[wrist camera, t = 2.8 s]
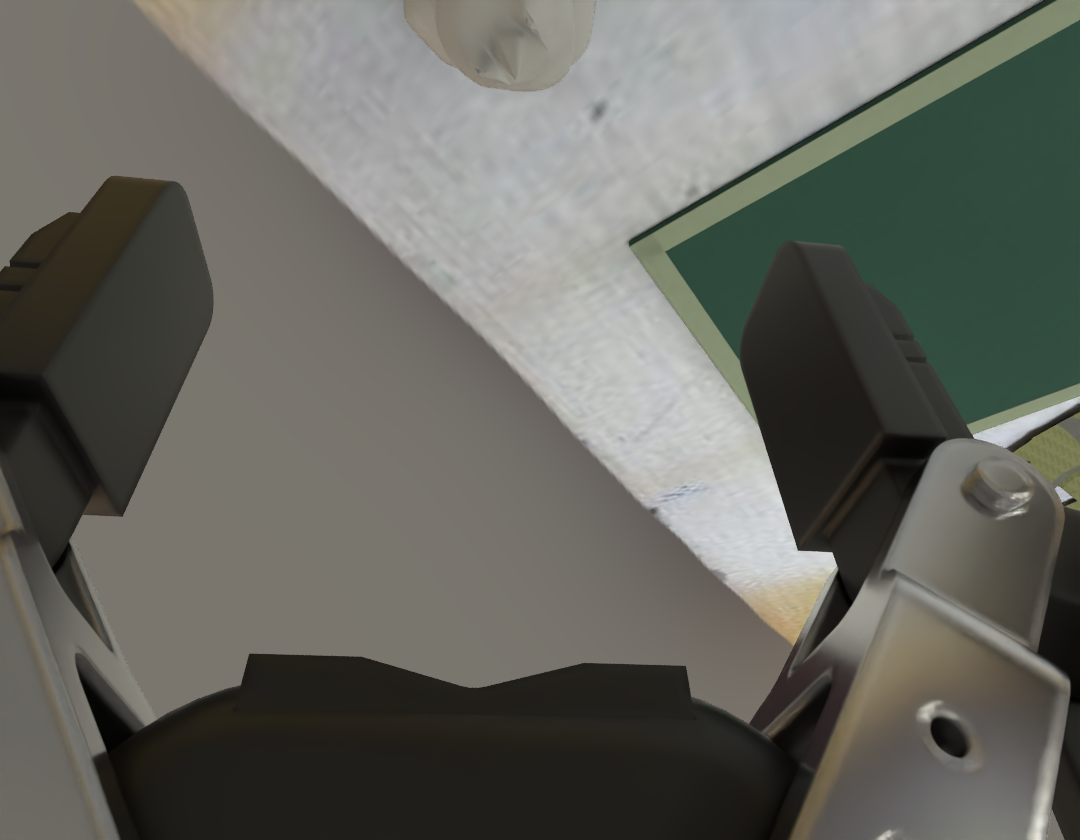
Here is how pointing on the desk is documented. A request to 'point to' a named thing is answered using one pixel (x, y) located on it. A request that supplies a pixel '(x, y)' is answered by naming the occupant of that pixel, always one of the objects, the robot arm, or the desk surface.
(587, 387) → the desk surface
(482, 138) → the desk surface
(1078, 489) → the map
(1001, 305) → the chalkboard
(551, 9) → the grey rounded figure
